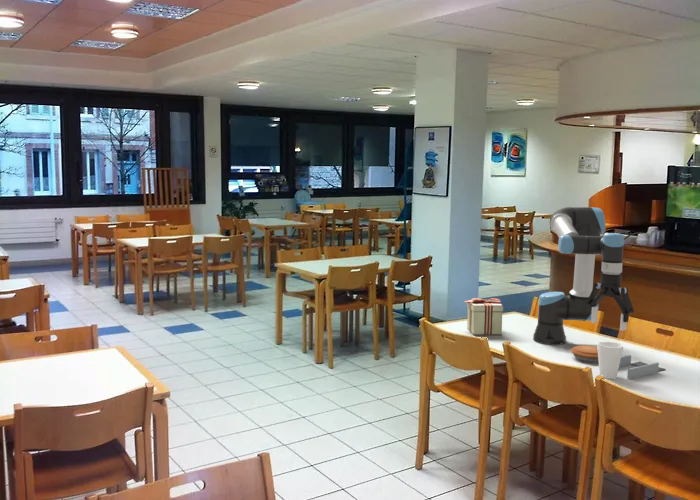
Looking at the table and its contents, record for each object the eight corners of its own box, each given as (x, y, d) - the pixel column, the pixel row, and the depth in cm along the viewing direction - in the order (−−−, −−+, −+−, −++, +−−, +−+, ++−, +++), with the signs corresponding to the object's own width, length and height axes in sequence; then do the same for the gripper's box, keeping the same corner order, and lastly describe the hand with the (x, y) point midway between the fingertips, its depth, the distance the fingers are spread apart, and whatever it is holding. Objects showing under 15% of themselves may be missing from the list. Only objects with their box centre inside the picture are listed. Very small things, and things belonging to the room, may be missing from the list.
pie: (562, 356, 287) (563, 345, 286) (589, 352, 293) (589, 341, 292) (588, 366, 273) (589, 354, 272) (616, 362, 279) (616, 350, 279)
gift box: (491, 326, 341) (492, 294, 339) (504, 335, 323) (506, 301, 320) (460, 327, 338) (461, 294, 336) (471, 336, 320) (472, 301, 318)
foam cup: (590, 373, 263) (592, 341, 261) (611, 372, 265) (613, 340, 263) (604, 380, 253) (606, 348, 252) (625, 379, 255) (628, 347, 254)
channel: (600, 370, 267) (600, 360, 267) (628, 363, 276) (629, 354, 276) (629, 379, 255) (629, 369, 255) (657, 372, 264) (658, 363, 264)
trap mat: (630, 364, 275) (630, 363, 275) (639, 362, 278) (639, 361, 278) (656, 372, 265) (656, 371, 265) (665, 369, 268) (665, 369, 268)
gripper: (578, 269, 262) (576, 320, 265) (633, 278, 241) (629, 334, 243) (591, 268, 266) (588, 319, 269) (646, 276, 245) (642, 332, 247)
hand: (608, 326), depth 256 cm, fingers open, 13 cm apart
